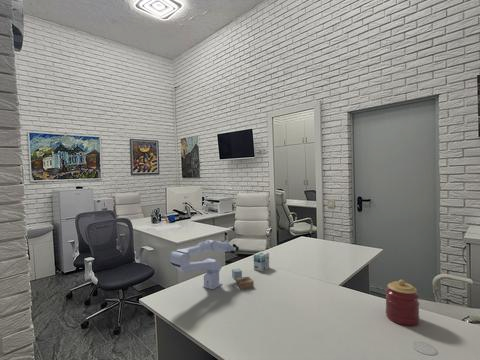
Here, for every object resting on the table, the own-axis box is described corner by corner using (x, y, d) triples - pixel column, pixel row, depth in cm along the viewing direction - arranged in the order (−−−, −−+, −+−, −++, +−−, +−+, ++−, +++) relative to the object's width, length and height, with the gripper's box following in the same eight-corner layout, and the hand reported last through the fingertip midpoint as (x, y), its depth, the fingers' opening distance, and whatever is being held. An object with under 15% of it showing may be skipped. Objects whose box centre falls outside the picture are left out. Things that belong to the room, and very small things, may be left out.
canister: (403, 329, 111) (403, 287, 111) (379, 313, 124) (378, 276, 123) (426, 323, 115) (426, 283, 115) (401, 309, 127) (400, 273, 127)
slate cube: (242, 278, 169) (241, 270, 169) (234, 279, 168) (234, 272, 167) (239, 276, 174) (239, 268, 174) (232, 277, 172) (232, 269, 172)
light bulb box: (261, 271, 181) (261, 256, 181) (253, 269, 185) (253, 254, 185) (269, 267, 189) (269, 252, 189) (261, 265, 193) (261, 250, 193)
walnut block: (253, 288, 155) (253, 281, 155) (240, 290, 153) (240, 283, 153) (248, 282, 163) (248, 276, 163) (236, 284, 160) (236, 278, 160)
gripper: (231, 242, 161) (243, 243, 172) (213, 237, 170) (226, 239, 181) (228, 253, 160) (241, 254, 171) (211, 248, 169) (224, 249, 180)
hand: (233, 247), depth 176 cm, fingers open, 7 cm apart
